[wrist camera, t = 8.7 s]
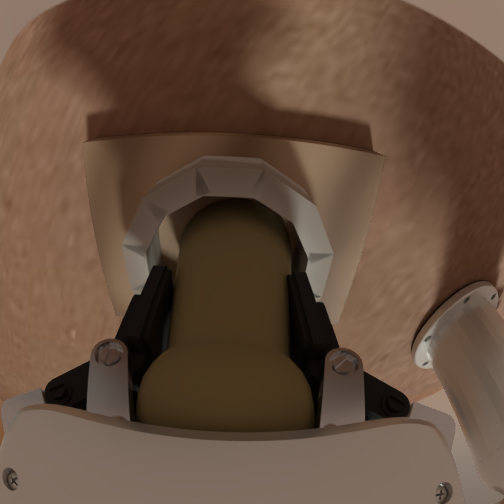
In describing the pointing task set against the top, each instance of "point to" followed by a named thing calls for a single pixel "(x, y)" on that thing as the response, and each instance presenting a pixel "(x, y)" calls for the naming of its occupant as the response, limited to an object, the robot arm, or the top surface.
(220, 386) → the olive green peg
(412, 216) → the top surface
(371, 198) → the socket board
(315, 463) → the robot arm
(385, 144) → the top surface
